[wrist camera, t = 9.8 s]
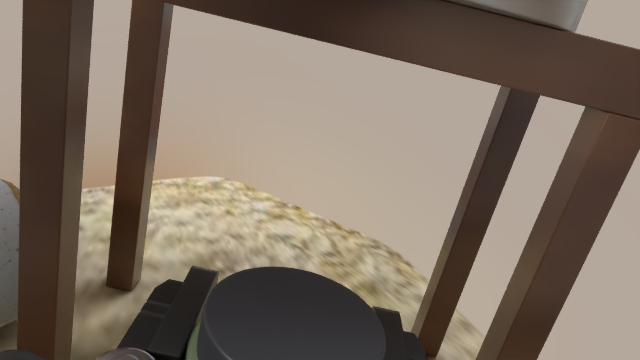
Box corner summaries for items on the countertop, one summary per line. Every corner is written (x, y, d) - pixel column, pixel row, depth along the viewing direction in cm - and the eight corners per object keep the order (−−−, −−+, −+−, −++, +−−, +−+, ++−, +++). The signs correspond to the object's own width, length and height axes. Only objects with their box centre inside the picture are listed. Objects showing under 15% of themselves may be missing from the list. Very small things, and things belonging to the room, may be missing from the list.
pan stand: (-36, 462, 18) (-61, -264, 10) (168, 207, 39) (208, -88, 32) (493, 565, 19) (821, -28, 11) (410, 262, 40) (504, -12, 33)
